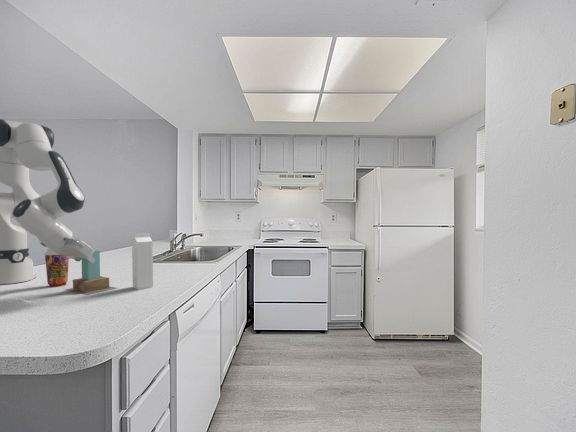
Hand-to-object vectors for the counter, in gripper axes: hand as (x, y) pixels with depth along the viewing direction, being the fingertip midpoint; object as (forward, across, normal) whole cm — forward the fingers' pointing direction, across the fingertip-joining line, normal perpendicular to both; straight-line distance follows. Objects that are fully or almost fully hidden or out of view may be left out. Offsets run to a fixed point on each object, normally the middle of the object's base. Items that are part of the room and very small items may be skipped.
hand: (86, 260), depth 129 cm
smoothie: (+8, +19, +9) cm, 22 cm away
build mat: (+9, 0, +7) cm, 12 cm away
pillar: (+6, 0, +4) cm, 7 cm away
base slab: (+9, 0, +7) cm, 11 cm away
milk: (+18, -15, -1) cm, 24 cm away
